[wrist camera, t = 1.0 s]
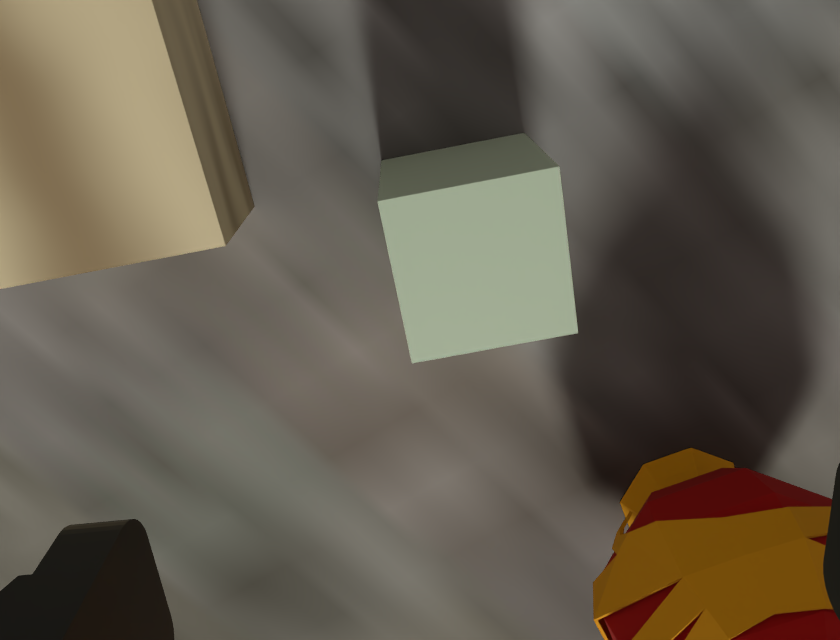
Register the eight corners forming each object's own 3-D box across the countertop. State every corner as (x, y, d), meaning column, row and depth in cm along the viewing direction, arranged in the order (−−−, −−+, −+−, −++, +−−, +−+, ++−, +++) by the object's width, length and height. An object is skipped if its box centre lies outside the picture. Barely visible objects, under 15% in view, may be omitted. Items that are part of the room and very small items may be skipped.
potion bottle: (825, 391, 30) (1200, 723, 16) (777, 593, 34) (1043, 999, 20) (565, 395, 29) (716, 736, 16) (548, 597, 33) (655, 1013, 20)
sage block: (524, 132, 25) (559, 166, 20) (541, 268, 27) (578, 333, 22) (381, 160, 26) (377, 201, 20) (408, 292, 28) (411, 363, 22)
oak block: (187, -41, 23) (135, -54, 19) (255, 205, 26) (225, 245, 22) (-56, 10, 24) (-165, 9, 19) (39, 246, 27) (-35, 295, 22)
